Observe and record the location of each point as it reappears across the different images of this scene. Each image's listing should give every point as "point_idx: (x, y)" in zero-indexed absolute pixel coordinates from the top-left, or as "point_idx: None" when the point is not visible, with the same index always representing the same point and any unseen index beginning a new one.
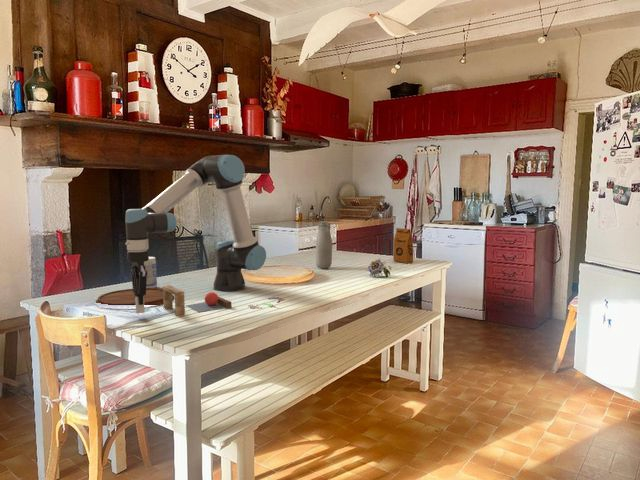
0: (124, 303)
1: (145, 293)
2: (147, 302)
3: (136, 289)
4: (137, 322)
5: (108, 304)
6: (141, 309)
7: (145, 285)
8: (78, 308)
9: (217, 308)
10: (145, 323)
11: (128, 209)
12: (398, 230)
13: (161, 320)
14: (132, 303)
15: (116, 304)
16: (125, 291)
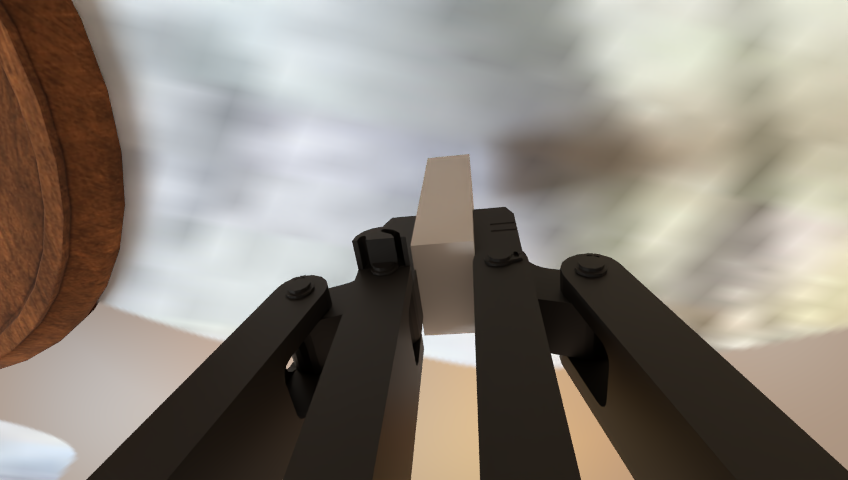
0: (10, 237)
1: (621, 274)
2: (8, 25)
3: (414, 387)
4: (602, 225)
5: (27, 340)
6: (472, 196)
7: (747, 398)
8: (31, 449)
9: None
10: (684, 176)
11: None
12: None
13: (696, 9)
14: (56, 187)
15: (53, 300)
16: None
